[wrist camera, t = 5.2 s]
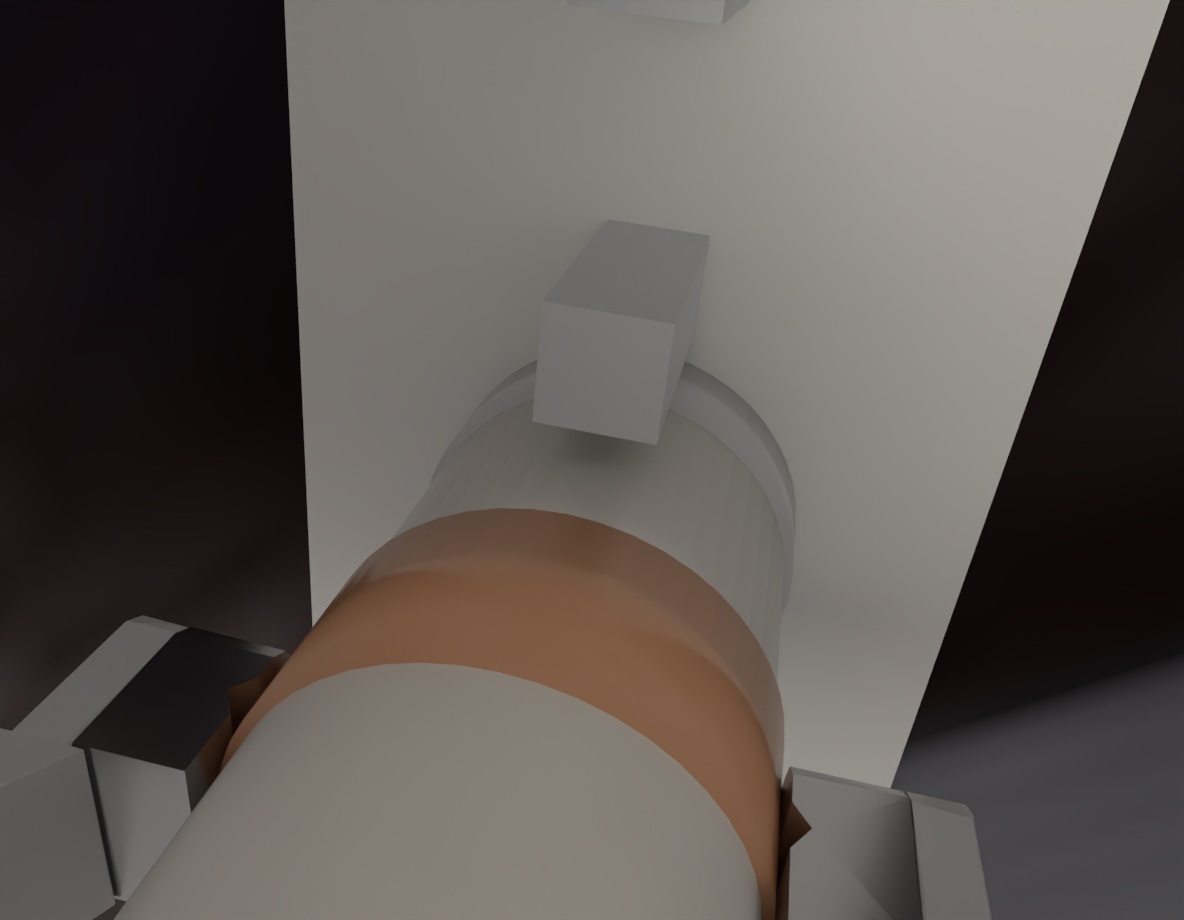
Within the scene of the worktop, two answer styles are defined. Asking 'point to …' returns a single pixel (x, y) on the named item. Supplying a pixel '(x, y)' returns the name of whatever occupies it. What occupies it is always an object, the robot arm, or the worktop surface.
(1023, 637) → the worktop surface
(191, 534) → the worktop surface
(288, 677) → the fuse marked
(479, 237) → the holder
